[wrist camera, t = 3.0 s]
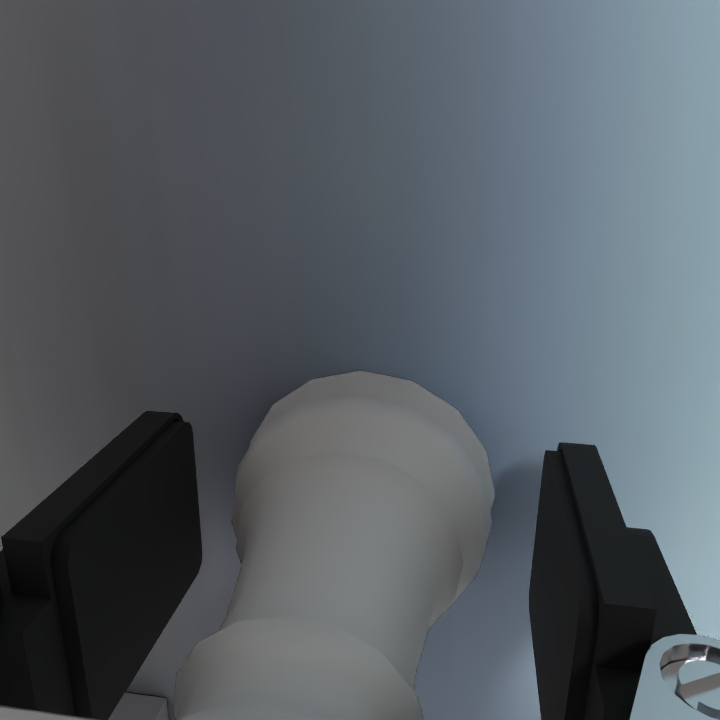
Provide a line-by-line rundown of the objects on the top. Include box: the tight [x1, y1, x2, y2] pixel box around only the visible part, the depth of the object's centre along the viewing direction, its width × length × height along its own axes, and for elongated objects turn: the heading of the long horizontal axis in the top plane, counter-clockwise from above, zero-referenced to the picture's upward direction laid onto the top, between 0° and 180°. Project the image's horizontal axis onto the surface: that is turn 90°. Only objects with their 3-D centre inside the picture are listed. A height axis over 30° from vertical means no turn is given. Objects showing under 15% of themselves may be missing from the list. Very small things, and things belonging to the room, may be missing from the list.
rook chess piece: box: [173, 371, 495, 720], centre depth 9 cm, size 4×4×8 cm
